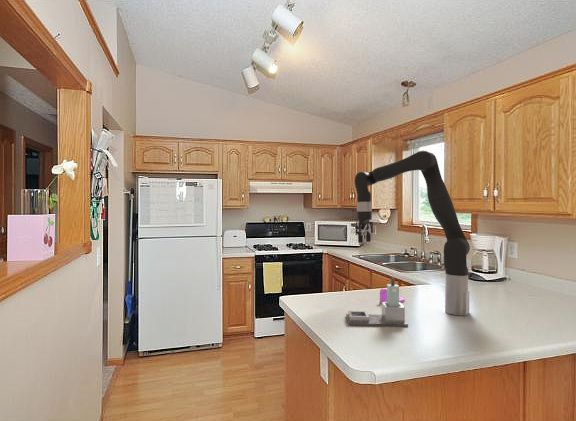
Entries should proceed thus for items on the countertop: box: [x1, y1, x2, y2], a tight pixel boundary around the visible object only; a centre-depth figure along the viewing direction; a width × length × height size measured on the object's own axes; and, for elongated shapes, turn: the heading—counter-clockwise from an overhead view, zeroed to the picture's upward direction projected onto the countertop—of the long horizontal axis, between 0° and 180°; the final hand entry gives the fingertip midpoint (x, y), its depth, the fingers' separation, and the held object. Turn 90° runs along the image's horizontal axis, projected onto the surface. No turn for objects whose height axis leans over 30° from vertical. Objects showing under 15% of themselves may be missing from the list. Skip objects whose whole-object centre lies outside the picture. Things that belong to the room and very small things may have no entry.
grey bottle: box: [386, 277, 400, 307], centre depth 148 cm, size 4×5×13 cm
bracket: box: [379, 288, 405, 304], centre depth 178 cm, size 13×6×7 cm, turn 121°
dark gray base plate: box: [345, 302, 409, 328], centre depth 149 cm, size 23×12×7 cm, turn 86°
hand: (364, 242), depth 187 cm, fingers open, 8 cm apart
